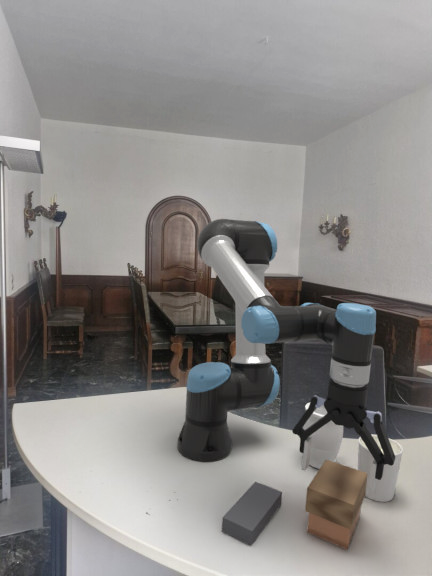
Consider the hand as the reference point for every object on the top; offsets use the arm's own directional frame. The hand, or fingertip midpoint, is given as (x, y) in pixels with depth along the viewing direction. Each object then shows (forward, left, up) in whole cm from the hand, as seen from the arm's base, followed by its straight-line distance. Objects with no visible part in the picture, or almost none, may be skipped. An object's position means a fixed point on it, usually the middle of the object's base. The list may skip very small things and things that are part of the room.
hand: (337, 479), depth 83 cm
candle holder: (+5, +18, -10) cm, 21 cm away
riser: (-15, -8, -10) cm, 19 cm away
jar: (-10, +23, -10) cm, 27 cm away
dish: (0, 0, -10) cm, 10 cm away
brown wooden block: (0, 0, -5) cm, 5 cm away
